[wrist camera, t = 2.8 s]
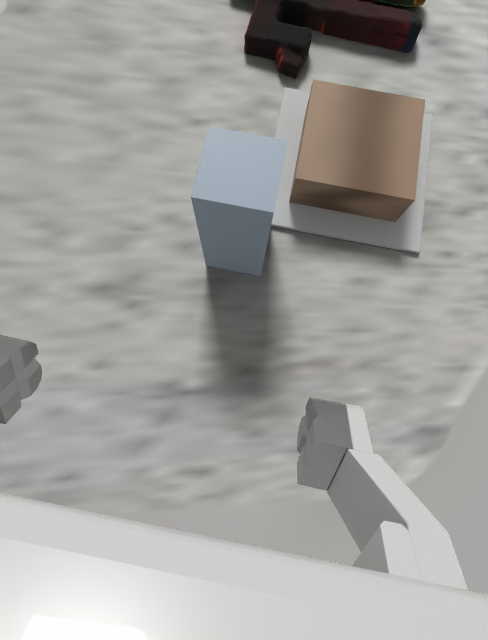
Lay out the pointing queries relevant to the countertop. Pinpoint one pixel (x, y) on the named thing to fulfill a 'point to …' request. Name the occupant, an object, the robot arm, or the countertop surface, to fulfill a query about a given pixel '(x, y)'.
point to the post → (237, 198)
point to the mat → (343, 224)
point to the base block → (358, 151)
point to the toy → (327, 27)
